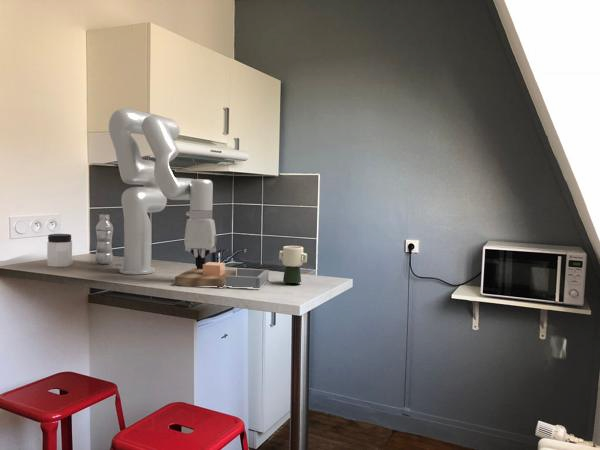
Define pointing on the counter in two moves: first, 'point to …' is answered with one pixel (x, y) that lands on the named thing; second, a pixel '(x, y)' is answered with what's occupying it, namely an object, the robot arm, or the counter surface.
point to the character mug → (292, 263)
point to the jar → (59, 250)
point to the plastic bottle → (104, 240)
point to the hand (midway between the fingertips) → (200, 268)
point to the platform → (202, 278)
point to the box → (248, 278)
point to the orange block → (213, 268)
